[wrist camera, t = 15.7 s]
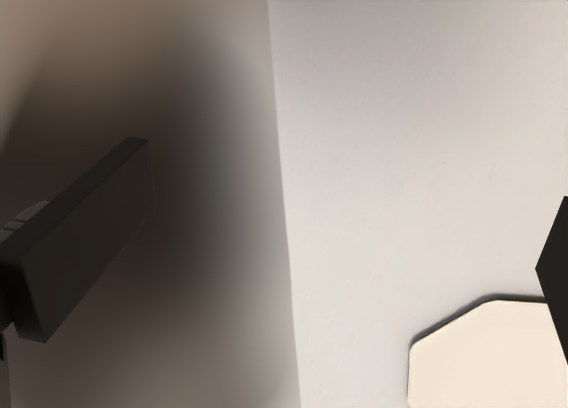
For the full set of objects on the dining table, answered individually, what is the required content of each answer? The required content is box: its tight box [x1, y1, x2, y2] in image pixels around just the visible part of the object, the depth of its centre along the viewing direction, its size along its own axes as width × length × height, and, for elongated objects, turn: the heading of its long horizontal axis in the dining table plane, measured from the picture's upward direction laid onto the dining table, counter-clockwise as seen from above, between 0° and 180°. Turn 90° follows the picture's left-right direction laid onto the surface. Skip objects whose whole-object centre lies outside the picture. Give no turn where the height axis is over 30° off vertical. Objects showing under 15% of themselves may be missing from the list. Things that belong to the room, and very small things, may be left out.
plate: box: [407, 299, 568, 408], centre depth 59 cm, size 28×28×2 cm
